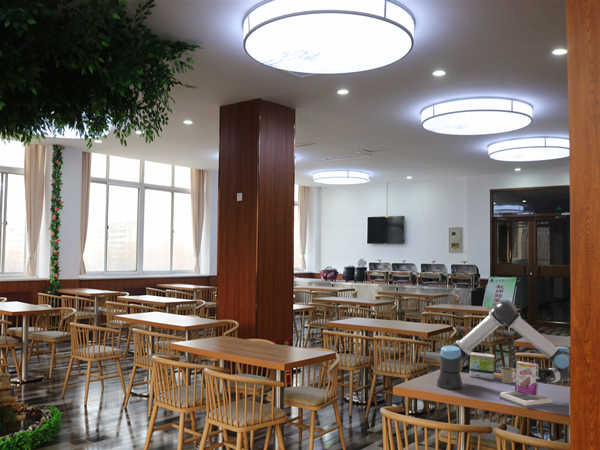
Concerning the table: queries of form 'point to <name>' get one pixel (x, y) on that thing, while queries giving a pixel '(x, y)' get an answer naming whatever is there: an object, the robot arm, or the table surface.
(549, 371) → the robot arm
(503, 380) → the flower pot
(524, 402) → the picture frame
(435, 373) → the table surface
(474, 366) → the tea box
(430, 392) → the table surface
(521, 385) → the candy bar box
